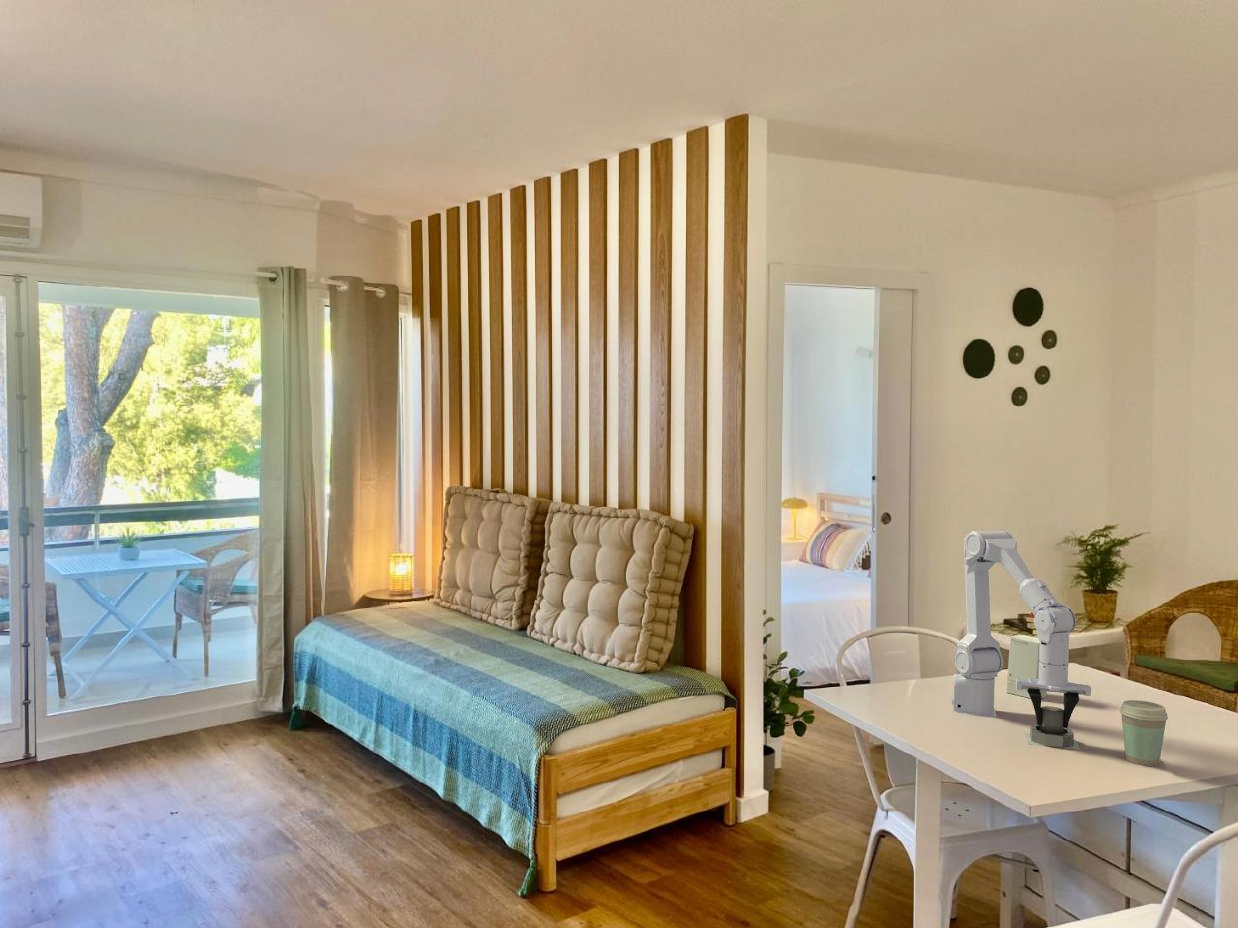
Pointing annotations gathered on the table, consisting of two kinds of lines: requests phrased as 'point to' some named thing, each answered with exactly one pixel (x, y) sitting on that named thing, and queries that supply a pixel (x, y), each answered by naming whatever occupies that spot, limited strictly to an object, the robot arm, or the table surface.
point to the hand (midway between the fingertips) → (1051, 725)
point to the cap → (1052, 720)
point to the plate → (1048, 746)
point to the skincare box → (1023, 663)
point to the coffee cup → (1143, 731)
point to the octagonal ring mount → (1052, 737)
